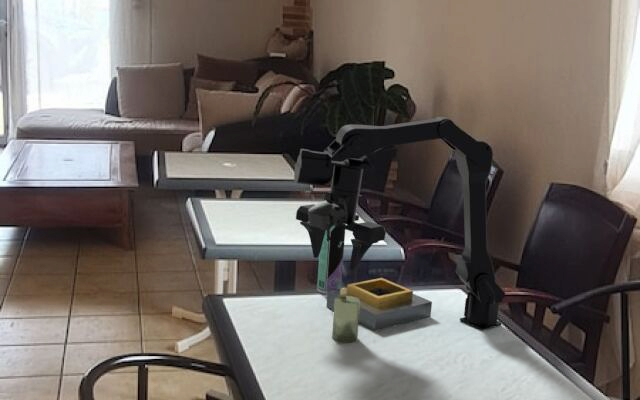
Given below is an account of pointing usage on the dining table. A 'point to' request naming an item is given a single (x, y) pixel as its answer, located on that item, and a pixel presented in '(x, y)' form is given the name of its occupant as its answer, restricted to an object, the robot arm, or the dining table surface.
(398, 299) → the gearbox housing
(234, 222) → the dining table surface
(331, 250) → the spray can
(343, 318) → the spout can
